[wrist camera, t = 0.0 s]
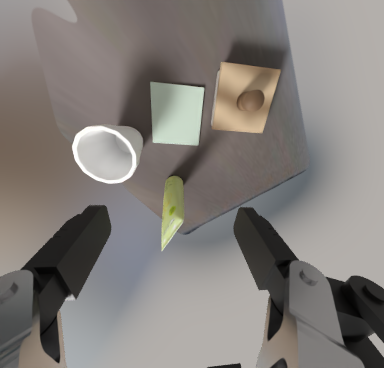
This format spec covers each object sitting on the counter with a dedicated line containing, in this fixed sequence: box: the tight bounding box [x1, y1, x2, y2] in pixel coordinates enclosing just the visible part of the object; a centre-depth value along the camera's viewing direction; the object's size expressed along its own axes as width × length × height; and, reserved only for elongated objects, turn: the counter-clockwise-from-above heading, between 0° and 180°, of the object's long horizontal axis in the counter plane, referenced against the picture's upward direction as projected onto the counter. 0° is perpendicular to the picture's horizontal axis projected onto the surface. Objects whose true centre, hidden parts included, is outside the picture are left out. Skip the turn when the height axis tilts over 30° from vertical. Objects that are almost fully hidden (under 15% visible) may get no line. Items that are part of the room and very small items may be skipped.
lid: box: [212, 62, 281, 133], centre depth 27 cm, size 11×11×5 cm
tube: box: [162, 176, 184, 251], centre depth 32 cm, size 6×5×20 cm
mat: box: [150, 82, 204, 145], centre depth 32 cm, size 12×11×1 cm
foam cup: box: [72, 124, 143, 184], centre depth 29 cm, size 10×9×13 cm
